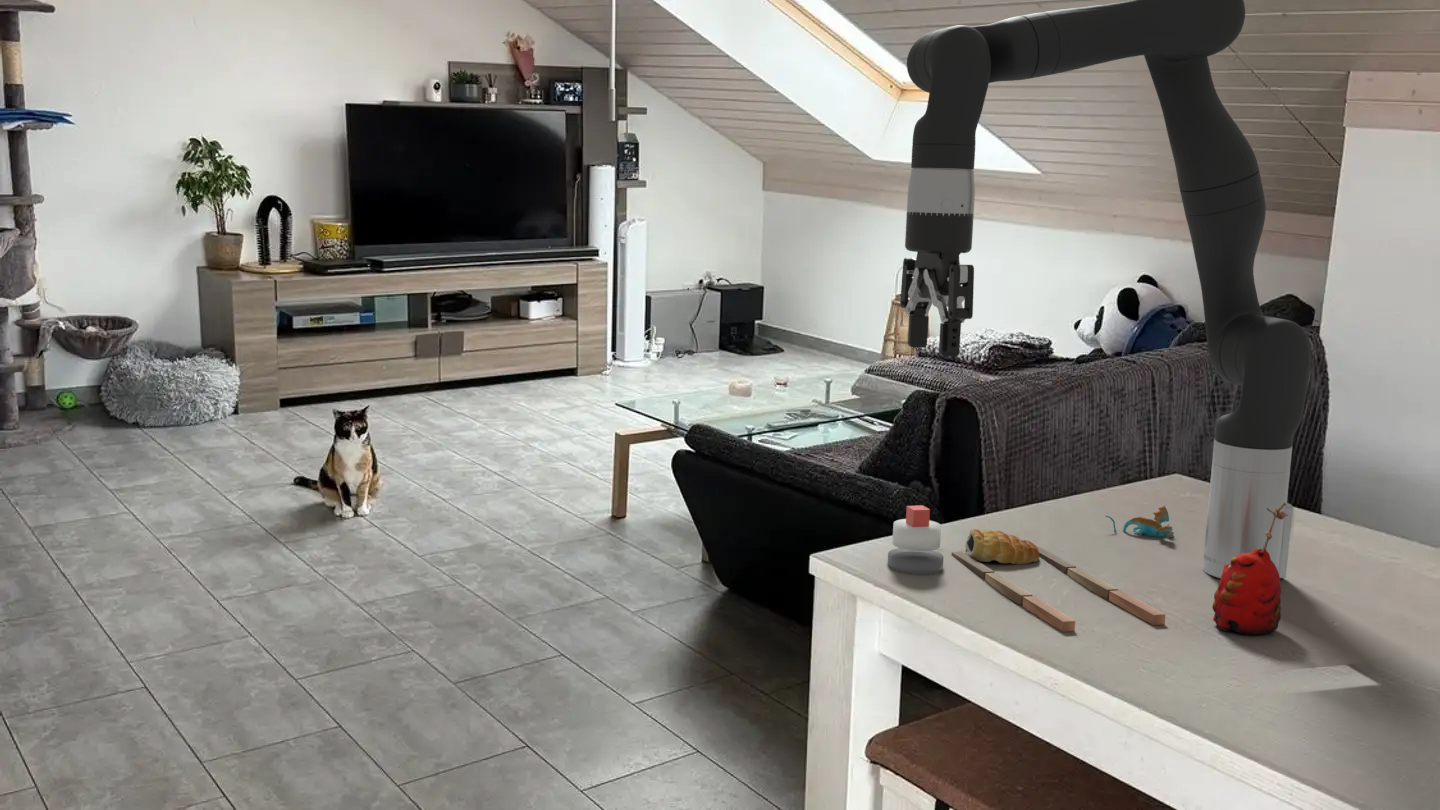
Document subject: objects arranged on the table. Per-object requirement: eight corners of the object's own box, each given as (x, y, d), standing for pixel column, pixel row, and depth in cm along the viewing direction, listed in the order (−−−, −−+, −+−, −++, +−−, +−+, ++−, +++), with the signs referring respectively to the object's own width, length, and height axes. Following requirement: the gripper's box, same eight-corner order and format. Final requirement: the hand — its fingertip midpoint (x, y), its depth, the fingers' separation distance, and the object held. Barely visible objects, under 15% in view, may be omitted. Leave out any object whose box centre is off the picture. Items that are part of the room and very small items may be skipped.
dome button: (927, 537, 169) (929, 501, 168) (948, 549, 163) (950, 512, 162) (885, 539, 167) (886, 503, 166) (904, 552, 161) (906, 514, 161)
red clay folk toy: (1222, 613, 152) (1233, 488, 149) (1286, 626, 148) (1299, 498, 145) (1204, 630, 146) (1216, 500, 143) (1271, 644, 142) (1284, 510, 139)
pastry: (1031, 556, 173) (1033, 528, 173) (1044, 568, 167) (1047, 539, 166) (961, 552, 173) (963, 524, 173) (972, 564, 166) (974, 535, 166)
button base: (928, 561, 170) (929, 546, 169) (952, 576, 163) (952, 561, 163) (878, 564, 168) (879, 549, 168) (900, 579, 161) (901, 564, 161)
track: (1039, 555, 174) (1040, 547, 174) (1164, 624, 147) (1165, 614, 147) (951, 561, 170) (951, 552, 170) (1062, 632, 144) (1063, 621, 143)
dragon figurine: (1123, 570, 181) (1181, 554, 179) (1105, 526, 179) (1163, 509, 177) (1120, 547, 187) (1175, 531, 184) (1103, 505, 185) (1159, 488, 182)
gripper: (1000, 212, 142) (990, 359, 144) (943, 209, 155) (935, 343, 158) (936, 210, 140) (928, 360, 142) (884, 207, 153) (878, 344, 156)
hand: (932, 351), depth 150 cm, fingers open, 8 cm apart
